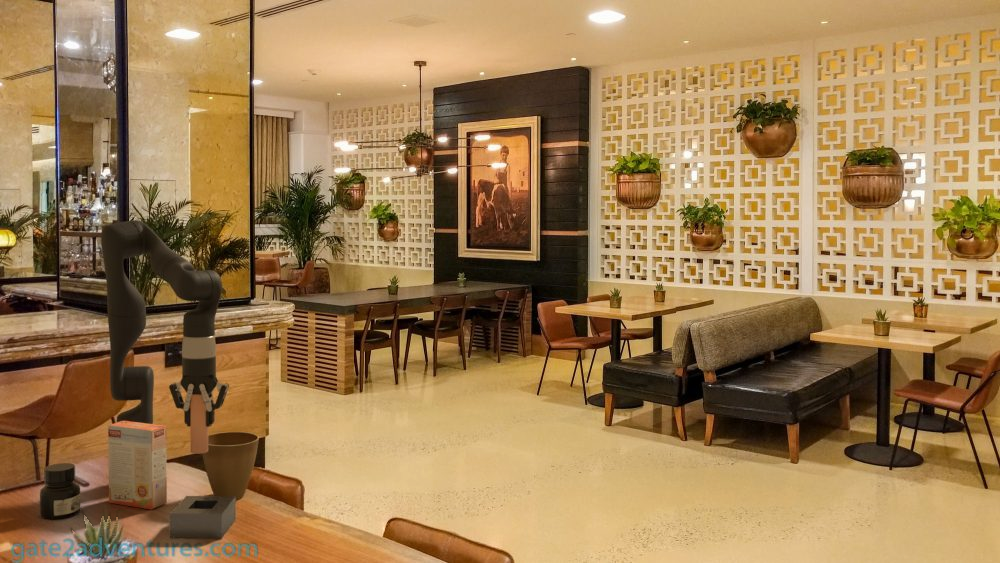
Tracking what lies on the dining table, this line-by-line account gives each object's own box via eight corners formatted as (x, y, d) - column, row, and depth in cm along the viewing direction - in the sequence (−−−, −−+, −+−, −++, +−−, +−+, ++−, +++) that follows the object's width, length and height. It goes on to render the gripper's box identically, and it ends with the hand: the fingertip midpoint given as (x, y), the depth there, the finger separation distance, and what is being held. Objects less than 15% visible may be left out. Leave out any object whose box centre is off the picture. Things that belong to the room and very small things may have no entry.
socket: (186, 519, 206) (186, 495, 206) (235, 519, 207) (235, 496, 206) (169, 538, 194) (169, 513, 194) (221, 538, 195) (221, 513, 194)
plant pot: (257, 504, 218) (257, 444, 217) (197, 507, 214) (197, 447, 213) (259, 485, 232) (260, 429, 231) (203, 488, 229) (203, 431, 227)
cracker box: (168, 503, 217) (167, 424, 215) (151, 511, 211) (150, 430, 209) (125, 496, 221) (124, 419, 220) (107, 503, 216) (106, 424, 214)
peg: (193, 448, 200) (193, 391, 199) (210, 449, 200) (210, 391, 199) (188, 453, 196) (187, 395, 195) (205, 453, 196) (205, 395, 195)
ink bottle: (62, 522, 202) (61, 474, 201) (30, 519, 204) (29, 471, 203) (89, 508, 211) (88, 462, 210) (59, 505, 213) (58, 459, 212)
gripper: (234, 352, 200) (234, 422, 202) (174, 351, 200) (174, 421, 201) (224, 357, 193) (224, 430, 194) (162, 356, 192) (163, 429, 194)
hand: (199, 425), depth 198 cm, fingers closed on peg, 4 cm apart
